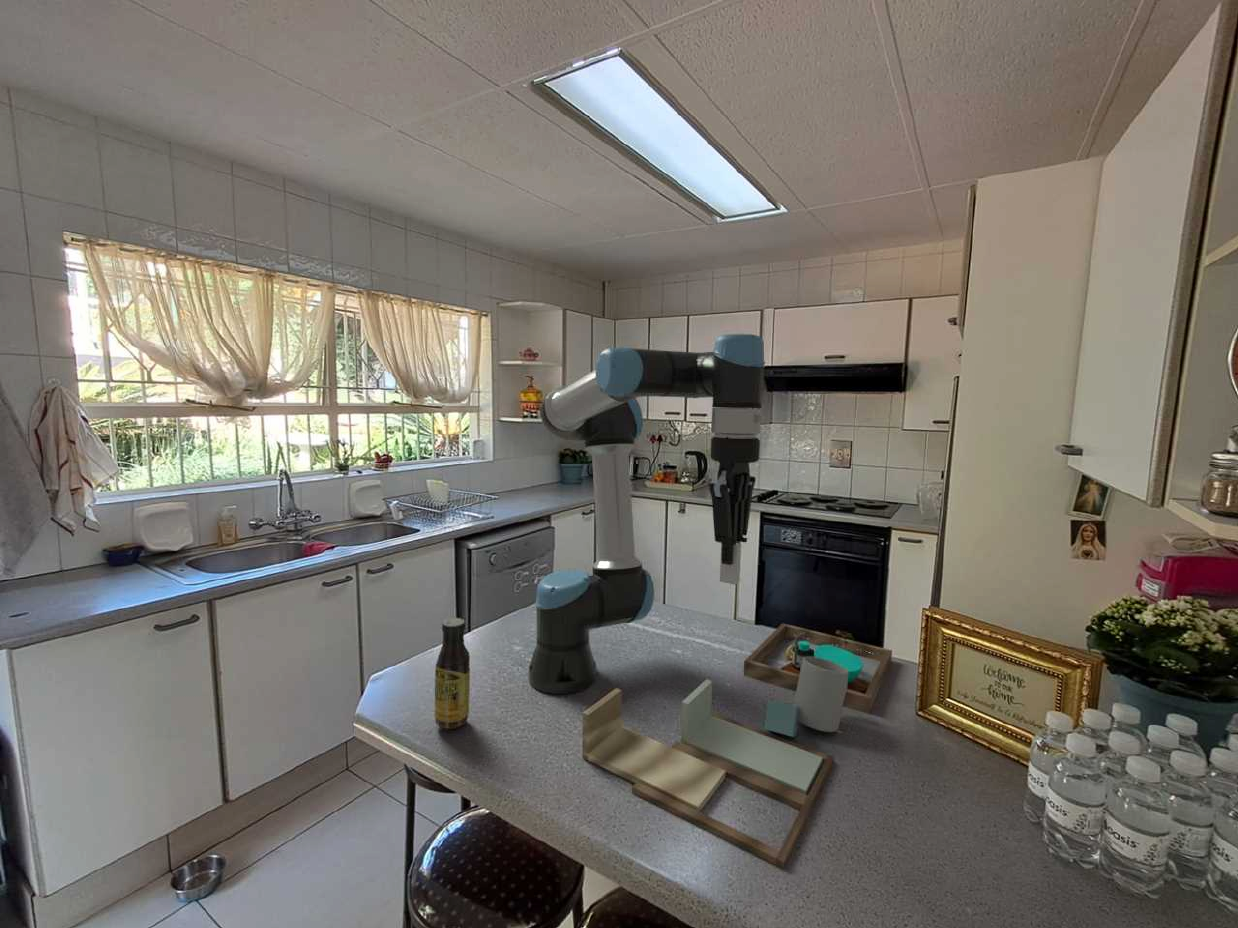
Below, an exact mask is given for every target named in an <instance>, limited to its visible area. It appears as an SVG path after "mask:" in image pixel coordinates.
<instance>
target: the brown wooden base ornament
mask: <svg viewBox="0 0 1238 928" xmlns="http://www.w3.org/2000/svg"><path fill="white" fill-rule="evenodd" d="M835 635H838V636H839V637H840V636H841V637H842V638H844V639H845V641H844V642H845V644H848V642H847V641H846V639H851V640H852V642H853V641H855V639H854V637H853V636H852V635H853V634H852V633H849V632H847V631H843V630H839V629H836V631H835ZM802 636H803V638H806V633H805V632H803V633H801V634H799V635H797V636H796V637H795V640H794V645H792V644H791V645H790V646H788V648H787V649H786V652H785V659H786V660H787V661H788V662H790V663H787V664H786V665H784V666H782V667H781V668H780V669H782V670H785V671H789V672H792V673H795V674H799V675H800V670H801V665H802V660H803V658H804V657H817V658H821V659H825V660H828V661H831V662H834V663H836V664H839V665H841V666H843V667H844V668H846V669H847V670H848V671H849V675H848V686H847V689H849V690H853V691H856V692H859V693H863V694H865V693H866V691H867V689H868V687H869V683H868V681H867V680H865V679H863V678H860V677H859V676H860V675H861V673H862V670H863V667H864V663H863V661H862V660H861V658H859V657H858V656H857V655H854V654H852V653H850V652H848V651H846V650H843V649H840V648H838V647H835V646H833V645H821V646H818V645H817V647H815V649H812V648H811V647H810V646H811V644H810V643H809V642H806V641H798V638H800V637H802ZM856 642H857V641H856ZM856 642H854V643H855V644H856Z"/></svg>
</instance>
